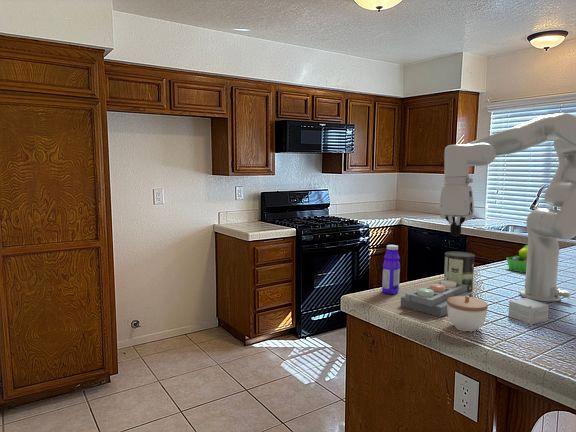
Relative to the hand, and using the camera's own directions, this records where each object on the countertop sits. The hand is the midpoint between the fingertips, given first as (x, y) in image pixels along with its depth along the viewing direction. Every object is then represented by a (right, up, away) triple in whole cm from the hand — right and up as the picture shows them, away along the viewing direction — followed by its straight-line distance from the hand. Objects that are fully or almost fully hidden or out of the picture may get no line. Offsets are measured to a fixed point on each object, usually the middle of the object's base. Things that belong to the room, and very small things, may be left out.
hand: (455, 235), depth 144 cm
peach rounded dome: (-7, -20, -2) cm, 21 cm away
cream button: (-1, -19, +4) cm, 19 cm away
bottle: (-19, -21, +11) cm, 31 cm away
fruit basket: (+49, -18, +47) cm, 70 cm away
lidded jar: (-6, -25, -23) cm, 35 cm away
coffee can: (+6, -21, +14) cm, 26 cm away
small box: (+16, -25, -14) cm, 33 cm away
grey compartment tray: (-7, -23, -1) cm, 24 cm away
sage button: (-13, -20, -7) cm, 25 cm away
